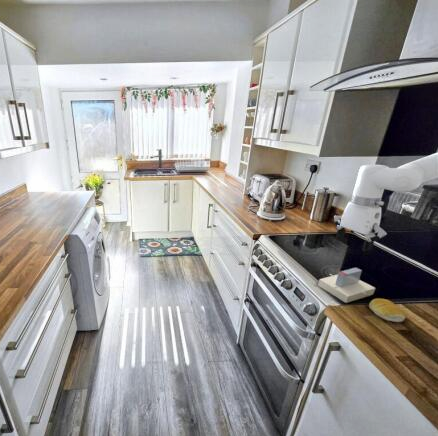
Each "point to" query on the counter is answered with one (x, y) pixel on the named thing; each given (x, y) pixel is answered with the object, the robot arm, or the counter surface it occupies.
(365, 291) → the cream flat tabbed slab
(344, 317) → the counter surface
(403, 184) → the robot arm
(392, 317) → the bread roll
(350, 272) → the grey rectangular block
